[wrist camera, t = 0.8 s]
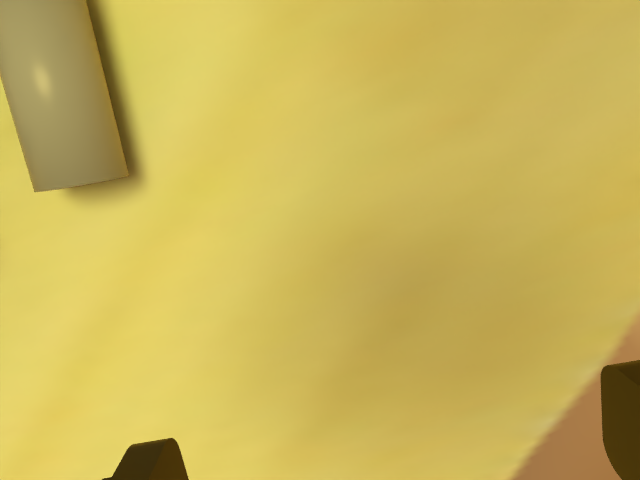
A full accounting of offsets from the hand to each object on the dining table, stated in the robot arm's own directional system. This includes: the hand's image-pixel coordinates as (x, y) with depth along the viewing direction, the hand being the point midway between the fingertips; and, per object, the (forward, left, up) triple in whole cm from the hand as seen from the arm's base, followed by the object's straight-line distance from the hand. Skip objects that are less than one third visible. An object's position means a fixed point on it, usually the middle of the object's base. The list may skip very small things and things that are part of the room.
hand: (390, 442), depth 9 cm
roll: (-10, -15, -23) cm, 29 cm away
